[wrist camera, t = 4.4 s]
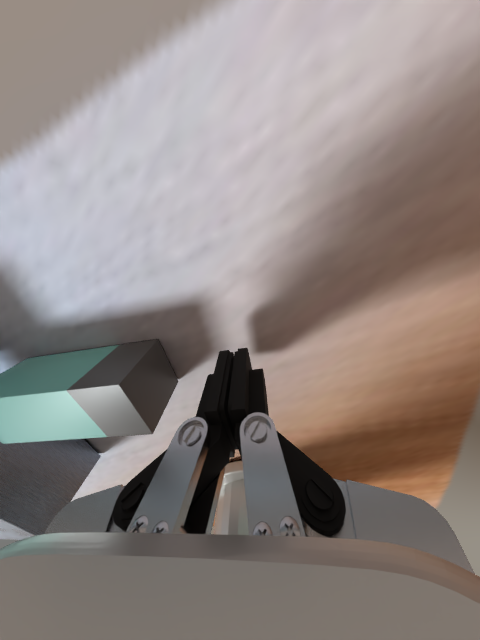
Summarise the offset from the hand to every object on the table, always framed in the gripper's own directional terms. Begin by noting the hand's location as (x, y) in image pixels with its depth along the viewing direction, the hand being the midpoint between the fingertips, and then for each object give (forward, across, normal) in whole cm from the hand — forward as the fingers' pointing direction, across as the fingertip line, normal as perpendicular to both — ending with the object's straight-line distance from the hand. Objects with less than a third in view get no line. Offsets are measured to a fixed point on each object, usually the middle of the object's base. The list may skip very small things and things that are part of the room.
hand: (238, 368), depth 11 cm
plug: (+2, +11, 0) cm, 11 cm away
